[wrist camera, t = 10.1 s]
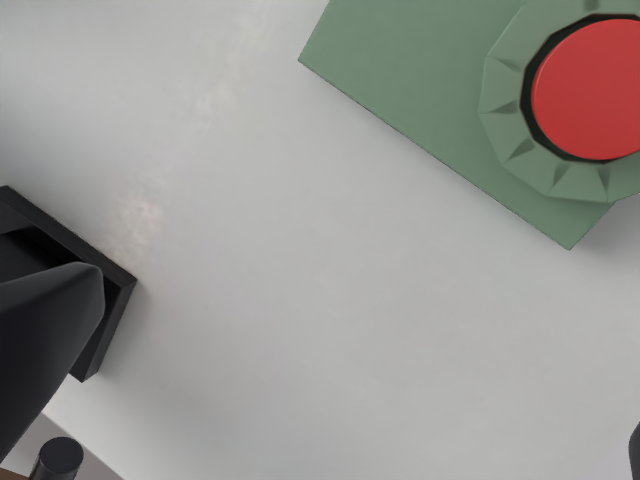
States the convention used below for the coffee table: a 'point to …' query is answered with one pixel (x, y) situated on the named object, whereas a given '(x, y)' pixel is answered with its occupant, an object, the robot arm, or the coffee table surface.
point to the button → (592, 91)
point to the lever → (53, 461)
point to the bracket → (53, 251)
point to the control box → (476, 95)
